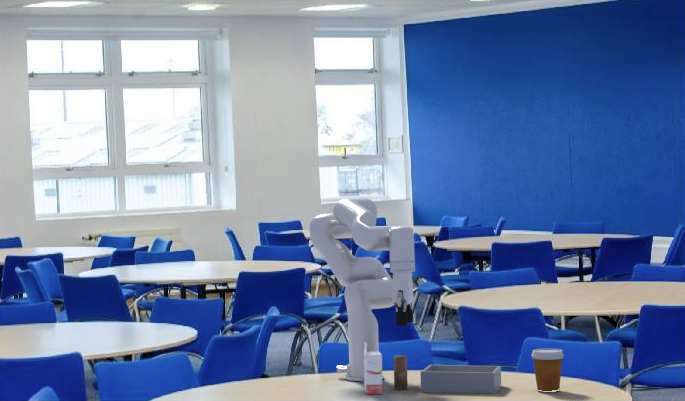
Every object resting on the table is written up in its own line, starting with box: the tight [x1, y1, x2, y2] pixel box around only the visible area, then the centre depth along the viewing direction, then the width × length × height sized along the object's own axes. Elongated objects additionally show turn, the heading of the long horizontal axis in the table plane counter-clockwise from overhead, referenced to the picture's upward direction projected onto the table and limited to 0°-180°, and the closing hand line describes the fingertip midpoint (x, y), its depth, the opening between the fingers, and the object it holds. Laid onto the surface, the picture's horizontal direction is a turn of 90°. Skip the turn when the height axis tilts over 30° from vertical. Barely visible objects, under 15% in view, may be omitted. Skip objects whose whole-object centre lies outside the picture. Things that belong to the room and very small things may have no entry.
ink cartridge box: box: [363, 343, 384, 395], centre depth 365 cm, size 9×5×15 cm, turn 5°
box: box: [420, 364, 502, 394], centre depth 367 cm, size 22×14×6 cm, turn 75°
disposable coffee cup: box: [530, 348, 565, 391], centre depth 359 cm, size 10×10×12 cm
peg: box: [393, 354, 409, 391], centre depth 369 cm, size 4×4×10 cm
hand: (404, 323), depth 370 cm, fingers open, 9 cm apart
